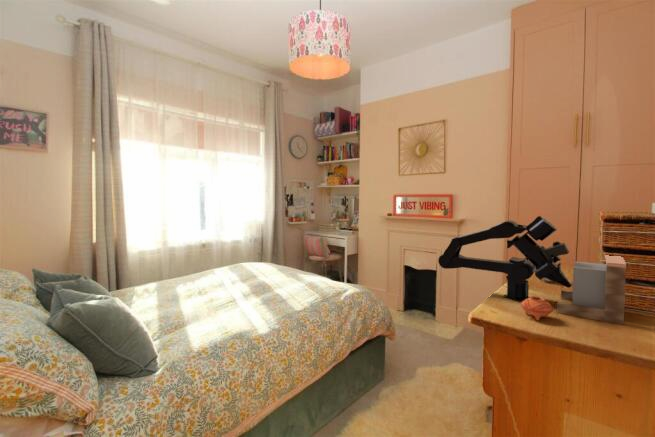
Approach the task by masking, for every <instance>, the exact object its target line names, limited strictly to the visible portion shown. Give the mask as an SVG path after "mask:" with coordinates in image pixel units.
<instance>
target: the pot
mask: <svg viewBox="0 0 655 437" xmlns="http://www.w3.org/2000/svg"><path fill="white" fill-rule="evenodd" d="M529 297H530V298H527V299H525V300H524V301H521V303H520V306H521V308H522V309H523V310H524V313H525V315H528V314H529V315H531V316H533V317H534V318H535V321H540V318H542V317H545V318H546V319H547V318H548V317H549V315H550V314H552V313H553V312H554V308H553V305H552V304H550V303H549V302H548V301H546V300H545V298H542V297H540V296H536V295H532V296H529Z"/></svg>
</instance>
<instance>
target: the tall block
mask: <svg viewBox="0 0 655 437" xmlns="http://www.w3.org/2000/svg"><path fill="white" fill-rule="evenodd" d="M572 272H573V273H572V291H573V295H572V301H571V304H573V305H580V306H586V307H592V308H598V309H605V289H606V264H604V263H594V262H593V263H592V262H584V261H583V262H582V261H574V264H573V269H572Z"/></svg>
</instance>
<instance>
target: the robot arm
mask: <svg viewBox="0 0 655 437" xmlns="http://www.w3.org/2000/svg"><path fill="white" fill-rule="evenodd" d="M556 231H558V229H557V227H555V225H553V224H552V222H550V221H548V220H547V219H546V218H544V217H542V216H541V215H538V216H537V217H536V218H535V219H534V220H533V221H532V222H531V223H529V224H527V225H525V224H518V223H517V222H516V221H514V220H509V219H508V220H505V221H503V222H500V223H499V224H496V225H493V226H492V227H490V228H487V229H484V230H479V231H476V232H472V233H468V234H466V235H461V236H459V235H458V236H454V237H453V238H452V239H451V240H450V243H449V244H448V246H447V248H446V249H445V250H444V251H443V253H442V254H440V256H439V257H438V259H437V260H438V261H437V262H438V264H439V266H440V267H441V268H442V269H444V270H445V269H446V270H447V269H449V270H450V269H460V268H463V269H465V268H466V269H472V270H480V271H488V272H496V273H503V274H506V276H505V277H506V280H507V281H506V284H507V287H506V288H507V289H506V290H507V291H506V294H503V295H502V296H503V297H504V296H505V298H508V299H511V300H512V301H513V300H514V301H515V302H516V301H517V302H523V301H524V300H525V299H527V298H530V297H531V296H529V290H530V289H529V288H530V287H529V286H530V285H529V279H530V278H531V277H532V276H533V275H534V277H536V278H538V280H539V281H541V279H542V278H543V277H544V278H547V279H549V280H552V281H551V282H555V283H557V284H559V285H562V286H563V287H565V288H571V287H572V284H571V283H570V281H569V279H568V277H566V275H565V274H564V272H563V271H562V262H561V260H562V258H561V257H560V256H564V255H568V254H569V253H570V250H569V249H568V247H567V245H566V243H565V242H562V243H561V242H560V241H559V240H558V241H554V242H553V243H552V246H549V247H544V246H543V245H540V244H538V243H537V242H536V241H541V242H543V241H544V240H546V239H547V238H548V237H550V236H551V235H552V234H553V233H555V232H556ZM524 232H525V233H524ZM522 233H524V234H522ZM517 234H518V235H517ZM519 234H522V235H519ZM514 236H515V237H514ZM512 237H513V238H512ZM508 238H512V239H511V240H510V239H508ZM494 239H498V240H499V239H507V240H506V243H507V244H506V245H507V246H506V249H510V248H511V247H514V248H516V249H517V251H519V252H520V253H521V254H522V255H523V256H524V257H523V258H522V257H515V256H512V257H511V258H509V260H495V259H485V258H480V257H479V258H478V257H472V256H471V257H470V256H464V255H462V254H460V253H461V251H462V248H463V246H466V245H467V246H468V245H471V244H474V243H480V242H483V241H487V240H494ZM557 262H559V263H558V264H557ZM556 264H557V265H556ZM542 280H543V279H542Z"/></svg>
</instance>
